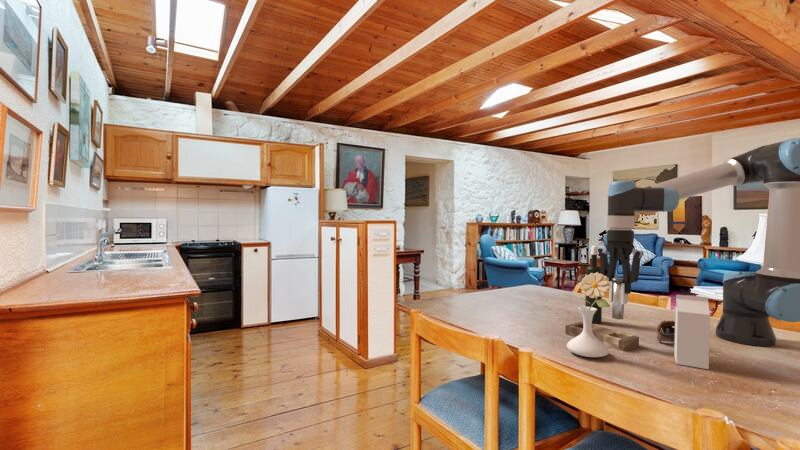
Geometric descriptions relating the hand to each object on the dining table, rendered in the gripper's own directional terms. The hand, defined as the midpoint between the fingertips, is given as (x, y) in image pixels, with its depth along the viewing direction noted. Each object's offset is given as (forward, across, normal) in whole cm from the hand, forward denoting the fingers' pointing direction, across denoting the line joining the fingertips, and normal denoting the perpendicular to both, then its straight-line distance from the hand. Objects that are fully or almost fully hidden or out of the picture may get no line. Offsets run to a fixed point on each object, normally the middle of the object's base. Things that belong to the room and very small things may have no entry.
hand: (618, 302), depth 122 cm
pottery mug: (+14, -8, -18) cm, 25 cm away
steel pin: (+5, 0, 0) cm, 5 cm away
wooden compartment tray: (+14, +6, 0) cm, 15 cm away
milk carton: (+14, -19, -2) cm, 24 cm away
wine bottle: (+14, +20, -19) cm, 31 cm away
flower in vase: (+14, -1, +16) cm, 22 cm away
